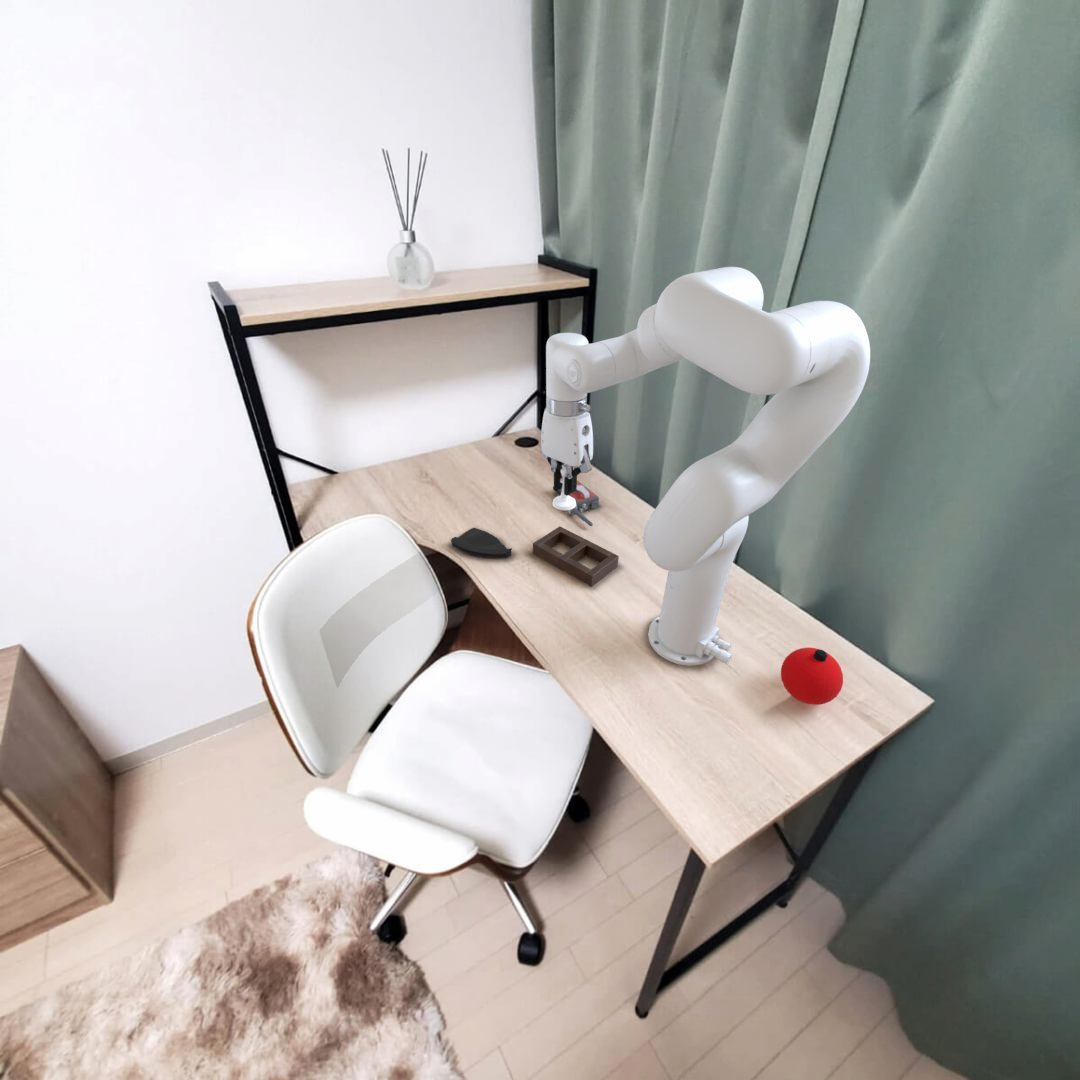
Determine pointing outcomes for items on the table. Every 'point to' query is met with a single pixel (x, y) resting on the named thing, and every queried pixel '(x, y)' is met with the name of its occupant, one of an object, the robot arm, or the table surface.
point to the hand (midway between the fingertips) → (565, 489)
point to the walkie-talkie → (582, 501)
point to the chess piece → (563, 500)
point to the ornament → (811, 676)
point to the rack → (575, 555)
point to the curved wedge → (480, 544)
